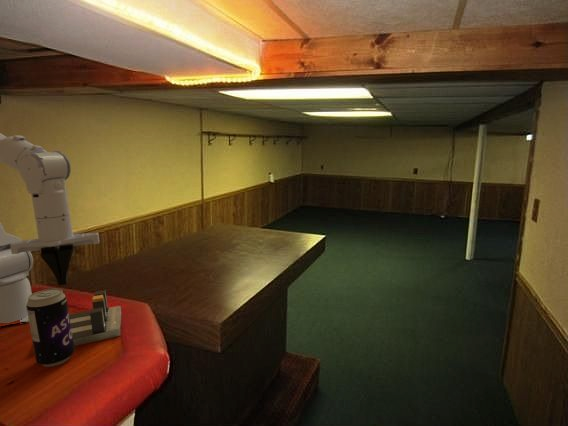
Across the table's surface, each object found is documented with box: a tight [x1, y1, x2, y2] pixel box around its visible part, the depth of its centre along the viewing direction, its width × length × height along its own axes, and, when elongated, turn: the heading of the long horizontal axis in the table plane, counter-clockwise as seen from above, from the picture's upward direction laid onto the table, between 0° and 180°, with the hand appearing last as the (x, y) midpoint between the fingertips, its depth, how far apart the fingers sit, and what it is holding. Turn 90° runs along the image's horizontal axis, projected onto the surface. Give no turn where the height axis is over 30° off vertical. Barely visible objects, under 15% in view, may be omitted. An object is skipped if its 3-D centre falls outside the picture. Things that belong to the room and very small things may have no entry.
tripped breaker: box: [91, 295, 107, 320], centre depth 75 cm, size 2×2×5 cm
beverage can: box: [26, 288, 75, 368], centre depth 63 cm, size 6×6×12 cm
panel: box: [33, 289, 122, 353], centre depth 74 cm, size 13×14×6 cm
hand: (63, 283), depth 74 cm, fingers closed
